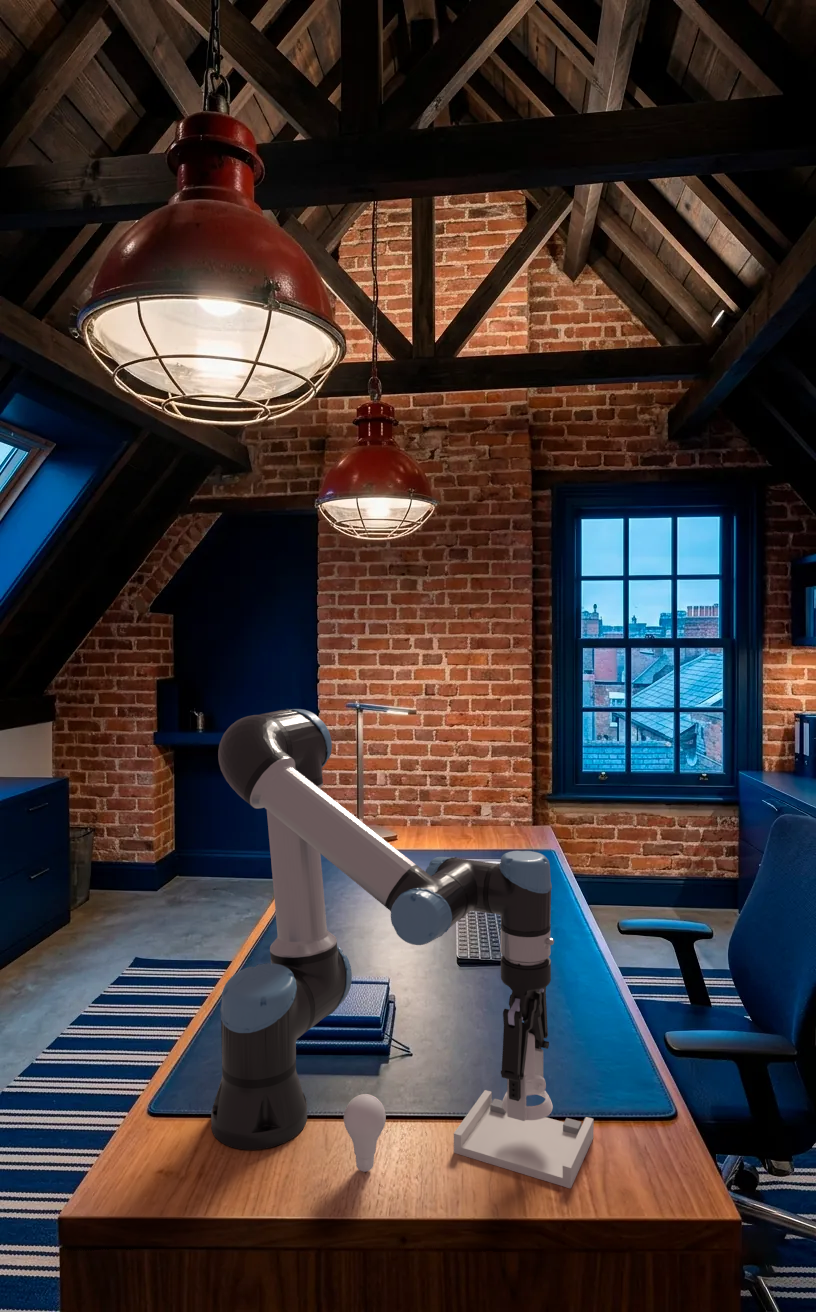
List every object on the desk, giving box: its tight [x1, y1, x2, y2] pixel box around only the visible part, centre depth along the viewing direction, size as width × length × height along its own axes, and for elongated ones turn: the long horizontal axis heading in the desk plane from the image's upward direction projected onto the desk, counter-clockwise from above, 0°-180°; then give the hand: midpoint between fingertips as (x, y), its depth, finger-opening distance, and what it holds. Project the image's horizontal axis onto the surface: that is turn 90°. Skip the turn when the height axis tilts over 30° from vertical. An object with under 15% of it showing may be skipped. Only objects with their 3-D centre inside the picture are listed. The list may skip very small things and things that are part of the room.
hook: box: [502, 1033, 554, 1120], centre depth 130 cm, size 8×12×7 cm
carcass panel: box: [453, 1089, 595, 1189], centre depth 129 cm, size 18×13×3 cm
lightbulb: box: [343, 1093, 387, 1173], centre depth 123 cm, size 6×6×11 cm
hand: (525, 1102), depth 128 cm, fingers closed on hook, 8 cm apart
